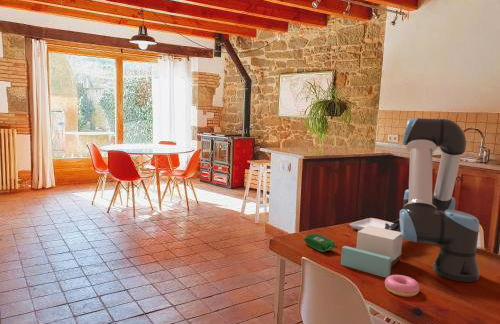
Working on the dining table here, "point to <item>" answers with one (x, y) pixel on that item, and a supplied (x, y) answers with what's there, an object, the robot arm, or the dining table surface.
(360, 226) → the salad plate
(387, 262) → the block
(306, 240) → the snack package
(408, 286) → the doughnut
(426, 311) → the dining table surface
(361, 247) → the white box
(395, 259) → the roller bed
